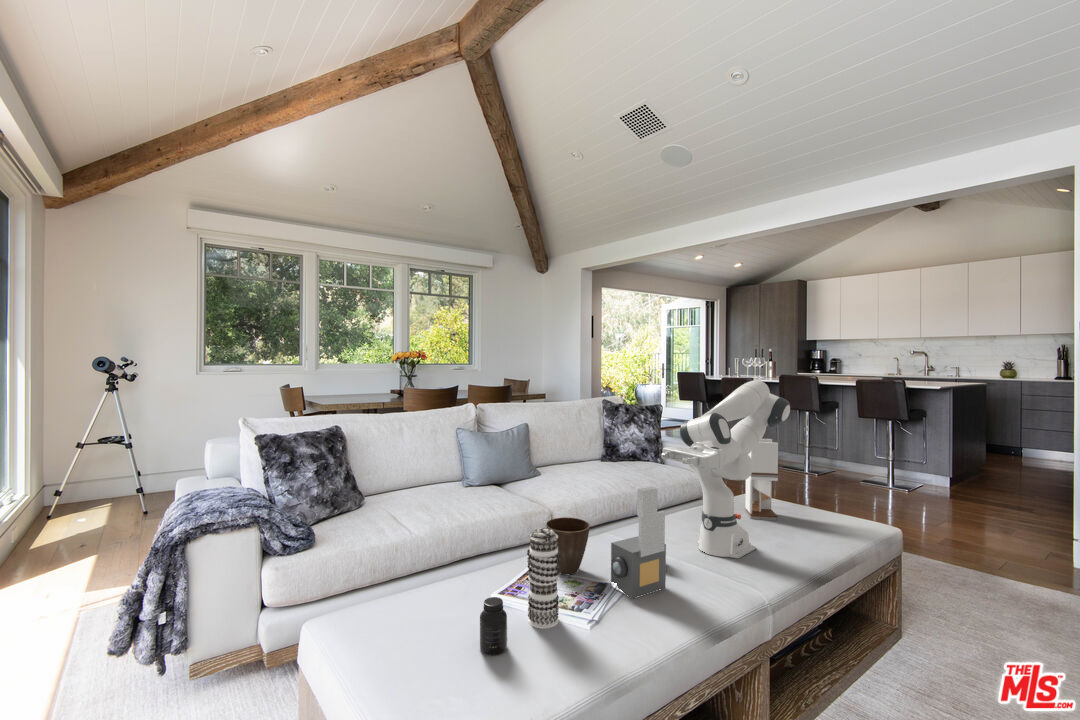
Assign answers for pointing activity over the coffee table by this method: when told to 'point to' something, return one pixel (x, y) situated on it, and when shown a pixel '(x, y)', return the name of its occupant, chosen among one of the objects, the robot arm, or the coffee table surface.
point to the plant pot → (570, 542)
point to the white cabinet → (762, 480)
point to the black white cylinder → (543, 578)
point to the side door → (650, 523)
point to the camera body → (636, 568)
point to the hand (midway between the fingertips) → (673, 458)
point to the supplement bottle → (493, 627)
